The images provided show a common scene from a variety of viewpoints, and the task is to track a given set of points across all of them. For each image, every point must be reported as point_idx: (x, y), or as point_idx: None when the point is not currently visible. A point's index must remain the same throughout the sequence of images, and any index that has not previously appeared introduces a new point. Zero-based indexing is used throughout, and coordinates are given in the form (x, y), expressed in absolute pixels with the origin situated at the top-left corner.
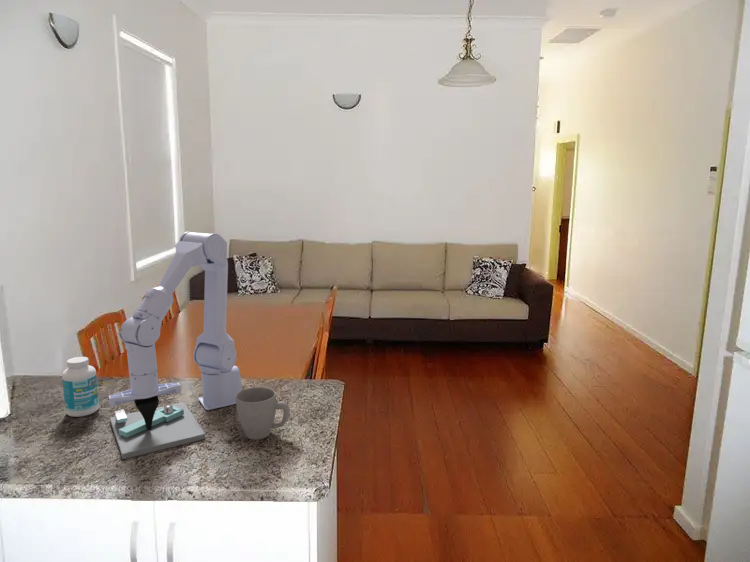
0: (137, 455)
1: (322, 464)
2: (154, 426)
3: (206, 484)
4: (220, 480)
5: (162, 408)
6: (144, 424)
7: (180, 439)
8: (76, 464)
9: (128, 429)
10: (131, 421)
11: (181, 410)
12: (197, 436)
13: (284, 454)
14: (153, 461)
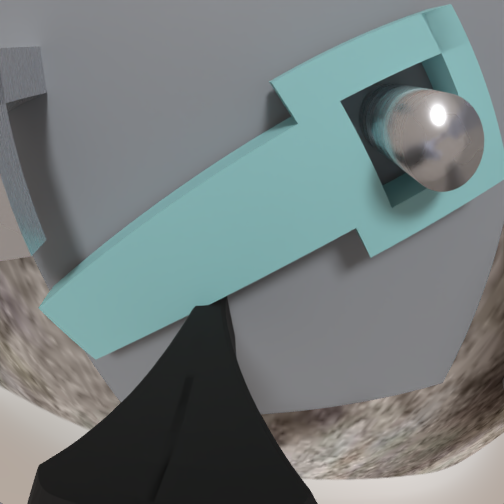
0: None
1: (488, 442)
2: None
3: (330, 478)
4: (356, 474)
5: (376, 30)
6: (185, 312)
7: (352, 401)
8: (10, 354)
9: (93, 333)
10: (82, 86)
11: (495, 183)
12: (415, 386)
13: (485, 427)
14: None
